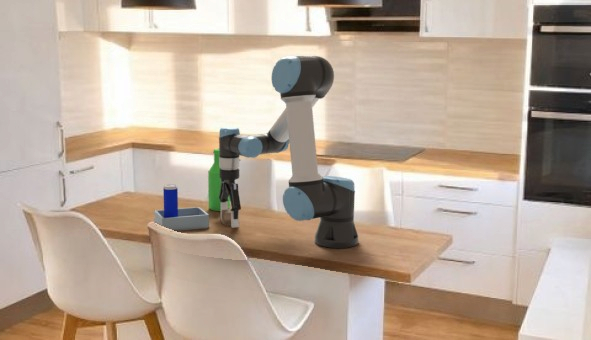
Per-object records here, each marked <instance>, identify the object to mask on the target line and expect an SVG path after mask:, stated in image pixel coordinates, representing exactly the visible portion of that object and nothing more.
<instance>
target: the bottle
mask: <svg viewBox="0 0 591 340" xmlns="http://www.w3.org/2000/svg"><path fill="white" fill-rule="evenodd" d="M212 154H213V160H214V161H213V164H212V165H211V167H210V168H209V170H208V176H207V177H208V178H207V179H208V181H207V183H208V185H207V186H208V187H207V188H208V189H207V190H208V191H207V192H208V194H207V195H208V209H210V210H211V211H215V212H219V211H220V212H221V202H220V199H219V192H220V186H221V179H220V177H219V170H220V167H219V157H220V155H219V148H215V149H213V153H212ZM226 202H228V209H230V207H231V202H230V197H229V196H228V201H226Z"/></svg>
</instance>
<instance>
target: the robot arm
mask: <svg viewBox="0 0 591 340" xmlns="http://www.w3.org/2000/svg"><path fill="white" fill-rule="evenodd" d="M334 80H335V71H334V68H333V66H332V64H331V63H330V62H329V61H328V60H327V59H326V58H324V57H323V56H319V55H313V56H311V55H309V56H308V55H307V56H306V55H305V56H304V55H298V56H297V55H291V56H286V57H285V56H284V57H282V58H280V59H279V60H278V61H277V62H276V63H275V64H274V66H273V68H272V71H271V84H272V87H273V89H274V90H275V92H277V93H279V95H280V100H281V101H282V102H284V104H285V107H284V109H283V111H282V113H281V114H280V115H279V116H278V118H277V120H276V121H275V122H274V124H272V126H271V127H270V129H269V131H268V132H267V133H260V134H259V133H258V134H251V135H249V134H248V135H244V134H241V131H240V128H239V127H236V126H223V127H221V128H220V129H219V137H218V149H219V155H220V157H219V167H220V170H219V177H220V179H221V186H220V192H219V199H220V202H221V211H220V219H221V220H222V210H227V209H229V208H228V202H226V201H228V196H229V197H230V207H231V208H230V209H231V210H230V211H231V225H230V226H231V228H232V229H233V228H239V227H240V220H239V219H240V216H239V215H240V213H239V211H241V210H242V207H241V201H240V200H241V199H240V192H239V183H236V180H238V179H240V162H241V158H240V156H241V157H245V158H251V159H253V158H254V159H255V158H257V157H259V156H261V155H266V154H267V155H269V154H279V153H281V152H285V151H287V150H288V148H289V155H290V162H291V163H290V164H291V173H292V175H291V177H290V179H288V187H287V188H286V189H285V190H284V193H283V195H282V204H283V207H284V210H285V212H286V213H287V215H289V217H290V218H291V219H293V220H295V221H297V222H298V221H299V222H302V221H303V222H304V221H311V220H313V219H314V220H315V219H319V218H320V219H319V223H318V226H317V229H316V232H315V235H314V243H315V244H316V245H318V246H321V247H325V248H332V249H344V248H345V249H347V248H352V247H356V246H357V245H358V244H359V233H358V230H357V228H356V224H355V199H356V198H355V194H356V190H355V182H354V180H353V179H351V178H348V177H343V176H342V177H341V176H335V175H333V176H332V175H323V176H322V175H320V173H319V169H318V158H317V146H316V134H315V123H314V115H313V107H314V106H315V105H316V104H317V102H318V101H319V100H322V99H324V98H325V97H326V95H328V93H329V92H330V90H331V88H332V86H333V83H334Z"/></svg>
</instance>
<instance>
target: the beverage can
mask: <svg viewBox="0 0 591 340" xmlns="http://www.w3.org/2000/svg"><path fill="white" fill-rule="evenodd" d="M162 191H163V210H164V218H170V217H178V209H179V201H178V200H179V197H178V195H179V194H178V193H179V192H178V186H177V184H171V183H169V184H164V186H163V190H162Z"/></svg>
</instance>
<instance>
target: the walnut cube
mask: <svg viewBox="0 0 591 340" xmlns="http://www.w3.org/2000/svg"><path fill="white" fill-rule="evenodd" d="M231 209H232V208H228V209H227V210H222V219H221V223H222V224H223V225H225V226H226V227H227V226H231V211H230V210H231Z"/></svg>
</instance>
